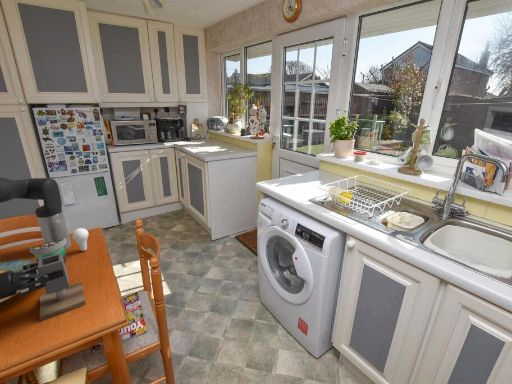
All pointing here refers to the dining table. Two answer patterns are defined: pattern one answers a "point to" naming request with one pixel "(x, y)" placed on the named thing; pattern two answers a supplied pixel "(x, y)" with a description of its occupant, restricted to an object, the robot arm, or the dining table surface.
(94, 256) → the dining table surface
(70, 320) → the dining table surface
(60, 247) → the food container
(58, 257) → the sleeve
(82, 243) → the lightbulb
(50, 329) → the dining table surface
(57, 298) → the post stand
